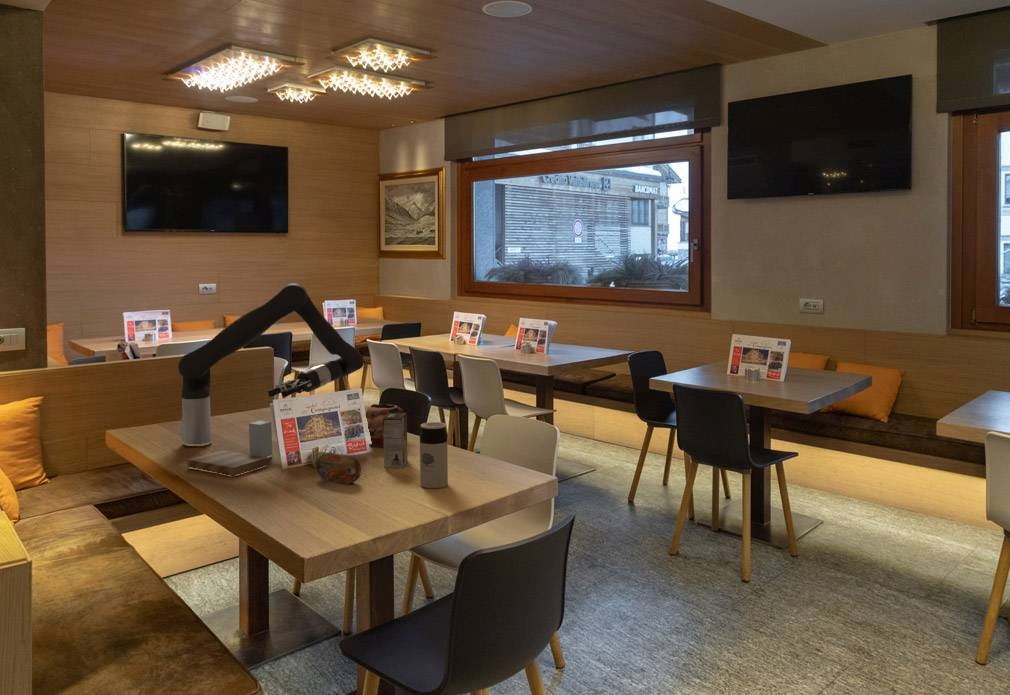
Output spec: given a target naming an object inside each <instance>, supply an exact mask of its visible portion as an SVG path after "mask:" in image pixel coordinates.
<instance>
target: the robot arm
mask: <svg viewBox="0 0 1010 695" xmlns="http://www.w3.org/2000/svg"><path fill="white" fill-rule="evenodd" d="M293 312H295V313H296V314H298V316H300V318H301V319H302V320H303V321H304V322H305V323H306V325H307V326H308V327H309V329H310V330H311V332H312V333H313V335H315V337H316V339H317V340H318V341H319V343H320V344H321V345H322V347H324V349H326V350H327V352H328V353H329V354H331V355H332V356H333V355H337V356H338V357H339V358H336V359H333V360H330V361H327V362H324V363H321V364H319V365H315V366H312V367H311V368H308V369H305V370H303V371H300V372H299V373H298V374H297V379H292V380H291V379H290V380H287V381H285V382H282V383H279V384H276V385H275V387H274V388H272V389H269V390H268V391H267V393H268V397H270V398H271V397H274V396H277V395H278V394H279V395H280V394H281V396H282V398H286V397H289V396H291V395H296V394H302V393H303V392H305V393H310V392H312V391H315V390H317V389H320V388H322V387H323V386H326V385H328V384H329V383H332V382H334V381H336V380H337V379H340V378H343V377H345V376H349V375H351V374H352V373H355V372H358V371H359V370H360V369H362V368H363V367H364V365H365V364H364V363H365V359H364V357H363V355H362V353H361V351H359V350H358V349H357V348H355V347H354V346H353V345H351V344H350V343H348V342H347V341H346V340H345V339H344V338H343V337H342V336H341V335H340V333H339V332H338V331H337V330H336V329H335V327H333V325H332V324H331V323H330V322H329V321H328V320H327V319H326V318H325V317H324V316H323V315H322V313H321V312H320V311H319V310H318V308H317V307H316V305H315V304H314V303H313V301H312V300H311V297H310V296H309V294H308V293H307V290H306V288H305V287H304V286H303V285H302V284H300V283H295V282H292V283H288V284H286V285H284V287H283V288H282V289H281V290H280V291H279V292H278V293H277V294H276V295H274V296H273V297H271V299H270V300H268V301H267V302H265V303H264V304H263V305H260V306H259V307H257V308H254V309H252V310H251V311H248V312H247V313H245V314H243V315H241V316H239V317H238V318H237V319H235V320H234V321H232V322H231V323H230V324H228V325H227V326H226V327H225V328H223V329H222V330H221V331H219V333H217V334H216V336H214V337H213V338H212V339H211V340H210V341H207V343H205V344H204V345H203V344H202V346H200V347H198V348H196V349H195V350H193V351H190V352H188V353H186V354H184V355H183V356H182V357H181V358H180V360H179V362H178V365H177V366H178V367H177V368H178V373H179V374H180V375H181V376H182V387H181V388H182V389H181V409H182V411H181V412H182V418H181V419H180V426H181V430H180V431H181V442H182V441H184V443H187V444H202V443H207V442H210V441H211V440H213V439H212V417H211V398H210V397H211V395H210V394H211V393H210V392H211V390H210V389H211V368H212V367H213V366H214V365H216V364H217V363H218V362H220V361H221V360H222V359H224V358H226V357H228V356H230V355H232V354H233V353H236V352H237V351H239V350H241V349H243V348H244V347H246V346H247V345H249V344H251V343H253V341H255V340H256V339H258V338H259V337H260V336H262V334H264V333H265V332H266V331H268V330H269V329H270V328H271V327H273V325H274V324H275V323H277V322H278V321H280V320H282V319H283V318H285V317H286V316H288V315H290V314H292V313H293Z"/></svg>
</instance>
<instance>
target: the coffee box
mask: <svg viewBox="0 0 1010 695" xmlns="http://www.w3.org/2000/svg"><path fill="white" fill-rule="evenodd" d="M407 414H408V412H404V413H388V414H387V415H386V416H385V417H384V418H383V437H384V447H383V468H385V467H386V468H385V469H387V468H388V467H397V469H398V468H400V469H403V468H404V467H405V465H406V464H407V463H408V424H407V423H408V419H407V418H408V415H407ZM388 469H389V468H388Z"/></svg>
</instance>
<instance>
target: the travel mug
mask: <svg viewBox="0 0 1010 695" xmlns="http://www.w3.org/2000/svg"><path fill="white" fill-rule="evenodd" d="M446 427H447V424H446V423H444V422H440V421H439V422H438V421H431V422H430V421H429V422H423V423H421V424H420V428H421V433H420V435H419V471H420V472H419V474H420V475H419V477H420V478H419V481H420V482H419V483H420V485H419V486H421V487H423V488H425V489H433V490H434V489H441V488H444V487H447V485H448V483H449V481H448V480H449V474H448V472H449V469H448V467H449V466H448V463H449V462H448V460H449V459H448V455H449V454H448V434H447V432H446Z"/></svg>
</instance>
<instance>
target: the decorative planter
mask: <svg viewBox="0 0 1010 695" xmlns="http://www.w3.org/2000/svg"><path fill="white" fill-rule="evenodd" d="M365 412H366V413H365V415H366V418H367V421H368V429H369V432H370V436H371V441H372V445H371V446H374V447H381V448H382V447H383V448H384V437H383V418H384V417H385V416H386V415H387V414H388V413H405V411H404V409H403V408H401V407H399V406H398V405H396V404H388V403H387V404H385V403H384V404H383V403H382V404H376V403H375V404H371V405H370V406H368V408H367V410H366V411H365Z"/></svg>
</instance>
